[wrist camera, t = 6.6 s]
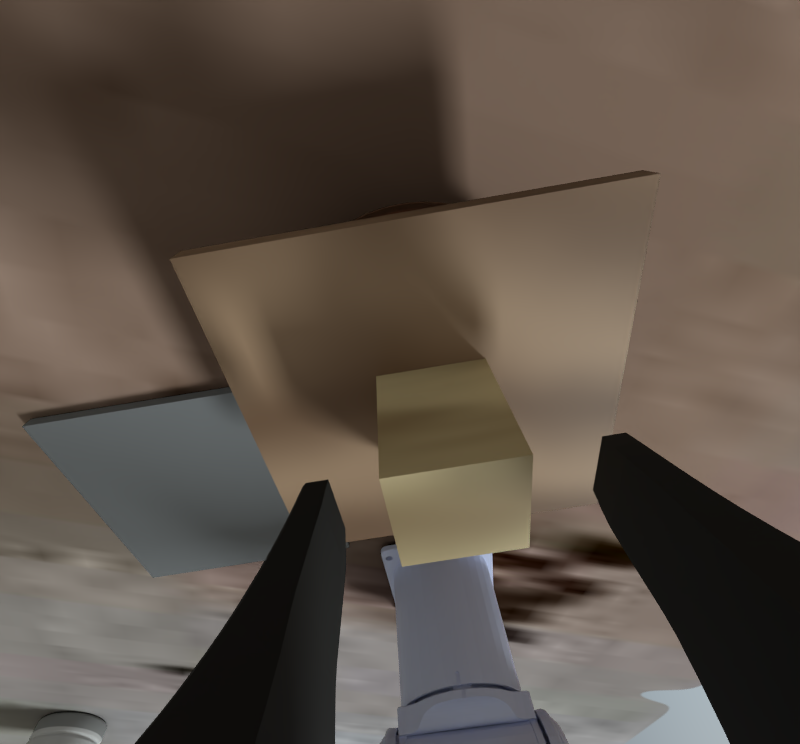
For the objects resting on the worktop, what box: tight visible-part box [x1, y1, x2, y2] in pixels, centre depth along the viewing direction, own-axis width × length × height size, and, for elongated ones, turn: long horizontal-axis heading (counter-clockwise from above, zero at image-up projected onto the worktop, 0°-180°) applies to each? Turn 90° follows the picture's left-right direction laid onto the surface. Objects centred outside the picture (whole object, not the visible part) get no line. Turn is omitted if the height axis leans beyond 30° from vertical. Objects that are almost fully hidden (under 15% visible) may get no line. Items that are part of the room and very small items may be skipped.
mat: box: [22, 387, 349, 578], centre depth 24 cm, size 14×14×1 cm
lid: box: [170, 170, 661, 567], centre depth 12 cm, size 13×13×5 cm
